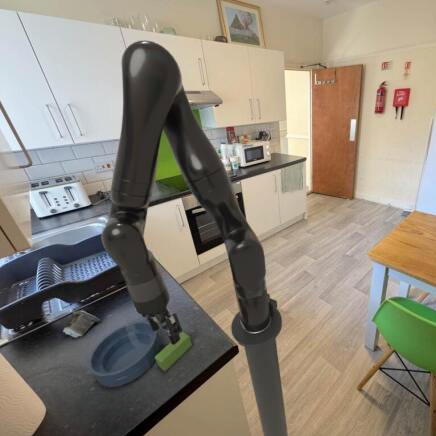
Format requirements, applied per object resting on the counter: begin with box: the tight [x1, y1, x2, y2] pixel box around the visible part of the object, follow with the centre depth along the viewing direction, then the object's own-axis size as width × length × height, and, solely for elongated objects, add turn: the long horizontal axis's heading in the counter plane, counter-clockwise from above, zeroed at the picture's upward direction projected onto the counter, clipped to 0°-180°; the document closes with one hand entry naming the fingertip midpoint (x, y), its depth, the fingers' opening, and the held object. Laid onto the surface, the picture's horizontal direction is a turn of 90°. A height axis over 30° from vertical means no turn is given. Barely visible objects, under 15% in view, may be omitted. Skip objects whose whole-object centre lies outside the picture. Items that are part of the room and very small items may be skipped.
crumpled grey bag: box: [62, 309, 102, 339], centre depth 78 cm, size 10×7×12 cm
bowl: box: [87, 320, 162, 388], centre depth 68 cm, size 16×16×6 cm
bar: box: [155, 331, 193, 372], centre depth 68 cm, size 9×3×4 cm, turn 149°
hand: (166, 335), depth 65 cm, fingers open, 8 cm apart
